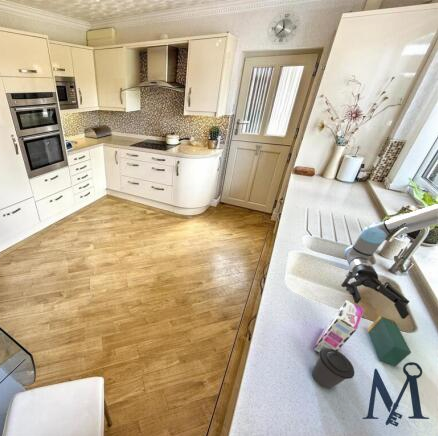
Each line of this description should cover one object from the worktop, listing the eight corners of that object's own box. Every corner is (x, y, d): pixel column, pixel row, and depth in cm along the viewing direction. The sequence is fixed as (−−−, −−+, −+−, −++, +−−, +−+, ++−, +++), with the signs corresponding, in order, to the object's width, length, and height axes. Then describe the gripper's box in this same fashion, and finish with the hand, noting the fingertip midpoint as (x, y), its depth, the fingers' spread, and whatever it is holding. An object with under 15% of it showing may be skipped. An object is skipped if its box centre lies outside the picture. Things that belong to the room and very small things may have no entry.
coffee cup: (345, 394, 65) (364, 376, 60) (317, 394, 65) (334, 376, 60) (326, 364, 72) (341, 346, 67) (300, 364, 72) (314, 345, 67)
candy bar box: (329, 362, 73) (357, 330, 65) (312, 349, 76) (336, 317, 68) (339, 340, 80) (365, 309, 71) (322, 329, 83) (345, 298, 74)
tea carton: (367, 329, 84) (379, 315, 80) (381, 334, 83) (395, 320, 78) (379, 360, 74) (394, 346, 70) (395, 366, 73) (412, 352, 69)
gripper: (394, 288, 98) (419, 329, 81) (325, 267, 106) (335, 301, 89) (405, 275, 94) (434, 316, 77) (333, 255, 102) (344, 287, 85)
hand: (381, 308), depth 83 cm, fingers open, 13 cm apart
